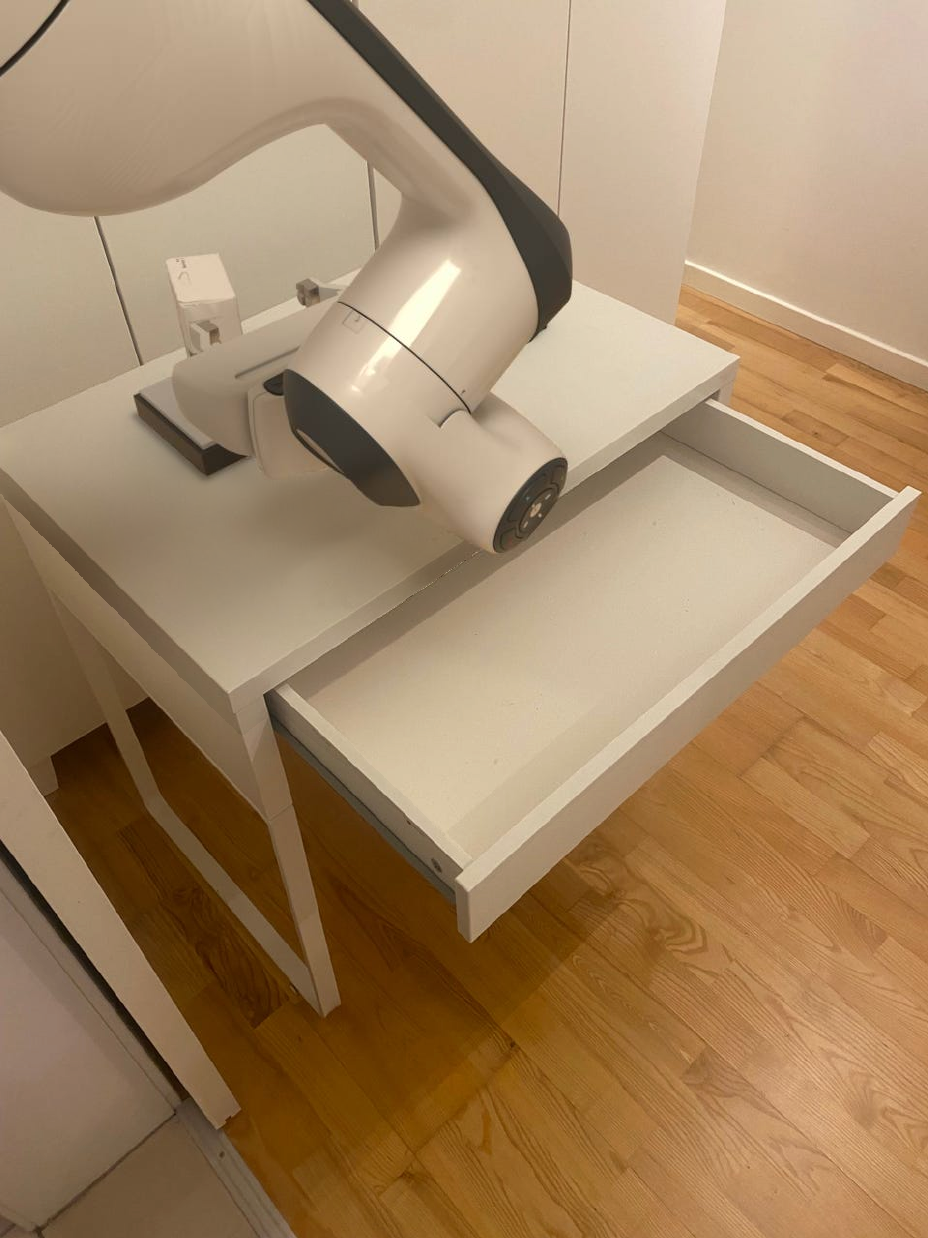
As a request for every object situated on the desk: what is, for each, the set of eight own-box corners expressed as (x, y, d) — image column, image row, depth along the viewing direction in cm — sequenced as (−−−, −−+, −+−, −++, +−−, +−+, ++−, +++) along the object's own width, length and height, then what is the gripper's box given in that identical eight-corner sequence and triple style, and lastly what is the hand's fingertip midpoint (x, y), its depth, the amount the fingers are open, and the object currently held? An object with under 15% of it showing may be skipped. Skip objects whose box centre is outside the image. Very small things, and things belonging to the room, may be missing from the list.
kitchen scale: (206, 476, 87) (200, 449, 85) (138, 415, 93) (131, 389, 90) (313, 423, 92) (310, 397, 90) (243, 369, 98) (238, 343, 96)
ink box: (259, 413, 88) (239, 295, 80) (205, 424, 87) (179, 306, 78) (240, 363, 94) (219, 247, 85) (188, 372, 92) (162, 256, 84)
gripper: (482, 298, 68) (359, 226, 74) (237, 411, 58) (121, 317, 65) (478, 374, 72) (363, 300, 79) (252, 491, 63) (142, 396, 69)
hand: (252, 309), depth 72 cm, fingers open, 8 cm apart
